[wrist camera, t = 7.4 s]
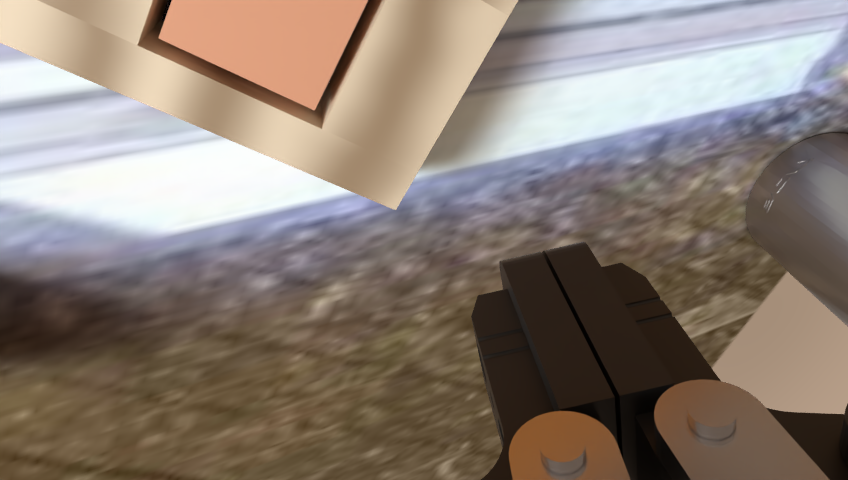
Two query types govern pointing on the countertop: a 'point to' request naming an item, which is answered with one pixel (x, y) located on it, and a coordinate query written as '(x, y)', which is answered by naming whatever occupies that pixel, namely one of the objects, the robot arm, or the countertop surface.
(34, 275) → the countertop surface
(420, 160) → the button housing
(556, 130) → the countertop surface
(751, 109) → the countertop surface
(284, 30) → the button
